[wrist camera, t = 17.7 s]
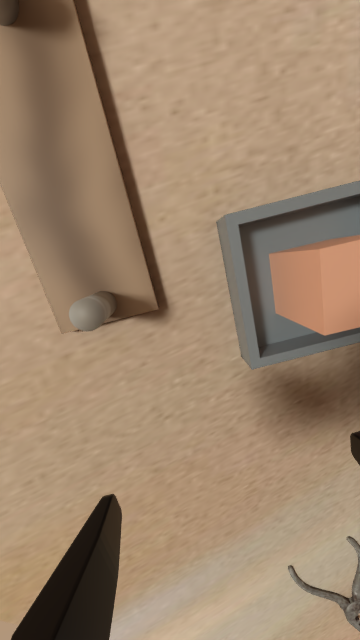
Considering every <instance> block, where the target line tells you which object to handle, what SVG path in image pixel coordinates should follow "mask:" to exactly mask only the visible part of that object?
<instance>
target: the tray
mask: <svg viewBox="0 0 360 640" xmlns="http://www.w3.org/2000/svg"><path fill="white" fill-rule="evenodd" d="M217 228H218V233H219V238H220V244H221V249H222V255H223V260H224V265H225V271H226V276H227V281H228V287H229V292H230V297H231V303H232V308H233V314H234V319H235V324H236V330H237V335H238V340H239V346H240V351H241V357H242V358H243V359H244V360H245V362H246V363H247V364H248V365H249V367H250V368H251V369H256V368H260V367H264V366H268V365H272V364H276V363H280V362H284V361H288V360H292V359H295V358H299V357H303V356H307V355H311V354H315V353H319V352H323V351H327V350H331V349H335V348H339V347H343V346H347V345H351V344H355V343H359V342H360V327H359V328H354V329H350V330H346V331H342V332H338V333H333V334H329V335H325V336H324V335H322V334H320V333H318V332H316V331H313V330H311V329H309V328H307V327H305V326H303V325H300V324H298V323H296V322H294V321H292V320H289V319H287V318H285V317H283V316H281V315H278V314H276V311H275V303H274V294H273V286H272V277H271V269H270V260H269V254H270V253H274V252H278V251H283V250H287V249H291V248H295V247H299V246H303V245H308V244H312V243H316V242H320V241H324V240H329V239H335V238H342V237H349V236H356V235H360V181H356V182H352V183H348V184H344V185H340V186H337V187H333V188H329V189H325V190H321V191H317V192H313V193H309V194H305V195H301V196H297V197H293V198H289V199H286V200H282V201H278V202H274V203H270V204H266V205H262V206H258V207H254V208H250V209H246V210H242V211H239V212H235V213H231V214H227V215H224V216H223V217H222V218H220V219H219V220H218V221H217Z"/></svg>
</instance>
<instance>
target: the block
mask: <svg viewBox="0 0 360 640" xmlns="http://www.w3.org/2000/svg"><path fill="white" fill-rule="evenodd" d="M269 260H270V269H271V277H272V286H273V294H274V303H275V311H276V314H278V315H281V316H283V317H285V318H287V319H289V320H292V321H294V322H296V323H298V324H300V325H303V326H305V327H307V328H309V329H311V330H313V331H316V332H318V333H320V334H322V335H324V336H325V335H329V334H333V333H338V332H342V331H346V330H350V329H354V328H359V327H360V235H356V236H349V237H342V238H335V239H329V240H324V241H320V242H316V243H312V244H308V245H303V246H299V247H295V248H291V249H287V250H283V251H278V252H274V253H270V254H269Z"/></svg>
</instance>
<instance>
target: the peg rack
mask: <svg viewBox="0 0 360 640" xmlns="http://www.w3.org/2000/svg"><path fill="white" fill-rule="evenodd" d="M0 185H1V187H2V190H3V192H4V195H5V197H6V200H7V202H8V204H9V207H10V209H11V212H12V214H13V217H14V219H15V221H16V224H17V226H18V229H19V231H20V234H21V236H22V239H23V241H24V243H25V246H26V248H27V251H28V253H29V256H30V258H31V260H32V263H33V265H34V268H35V270H36V273H37V275H38V277H39V280H40V282H41V285H42V287H43V290H44V292H45V295H46V297H47V299H48V302H49V304H50V307H51V309H52V312H53V314H54V316H55V319H56V321H57V324H58V326H59V329H60V331H61V334H64V333H68V332H71V331H75V330H82V331H93V330H95V329H97V328H98V327H99V326H100V325H101V324H103V323H107V322H111V321H115V320H119V319H123V318H126V317H130V316H134V315H138V314H142V313H146V312H150V311H154V310H158V309H159V306H158V302H157V298H156V295H155V291H154V288H153V284H152V280H151V277H150V273H149V269H148V266H147V262H146V259H145V255H144V251H143V248H142V244H141V241H140V237H139V233H138V230H137V226H136V223H135V219H134V215H133V212H132V208H131V204H130V201H129V197H128V194H127V190H126V186H125V183H124V179H123V176H122V172H121V168H120V165H119V161H118V158H117V154H116V150H115V147H114V143H113V139H112V136H111V132H110V129H109V125H108V121H107V118H106V114H105V111H104V107H103V103H102V100H101V96H100V92H99V89H98V85H97V82H96V78H95V74H94V71H93V67H92V64H91V60H90V56H89V53H88V49H87V46H86V42H85V38H84V35H83V31H82V27H81V24H80V20H79V17H78V13H77V9H76V6H75V2H74V0H0Z"/></svg>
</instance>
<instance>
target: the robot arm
mask: <svg viewBox="0 0 360 640" xmlns="http://www.w3.org/2000/svg"><path fill="white" fill-rule="evenodd" d="M350 441H351V452H352V455H353V457H354V458H355V460H356V461H357V462H358V464H359V465H360V431H359V432H355V433H352V434H351V435H350ZM121 522H122V511H121V508H120V506H119V503H118V501H117V499H116V496H115V495H114V494H110V495H106V496H103V497H102V498H101V500H100V501H99V503H98V504H97V506H96V507H95V509H94V510H93V512H92V514H91V515H90V517H89V518H88V520H87V521H86V523H85V524H84V526H83V527H82V529H81V530H80V532H79V534H78V535H77V537H76V538H75V540H74V541H73V543H72V544H71V546H70V547H69V549H68V550H67V552H66V554H65V555H64V557H63V558H62V560H61V561H60V563H59V564H58V566H57V567H56V569H55V570H54V572H53V574H52V575H51V577H50V578H49V580H48V581H47V583H46V584H45V586H44V587H43V589H42V591H41V592H40V594H39V595H38V597H37V598H36V600H35V601H34V603H33V604H32V606H31V607H30V609H29V611H28V612H27V614H26V615H25V617H24V618H23V620H22V621H21V623H20V624H19V626H18V627H17V629H16V631H15V632H14V634H13V635H12V638H11V640H109V637H110V630H111V623H112V616H113V609H114V601H115V594H116V587H117V579H118V570H119V555H120V539H121Z"/></svg>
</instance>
